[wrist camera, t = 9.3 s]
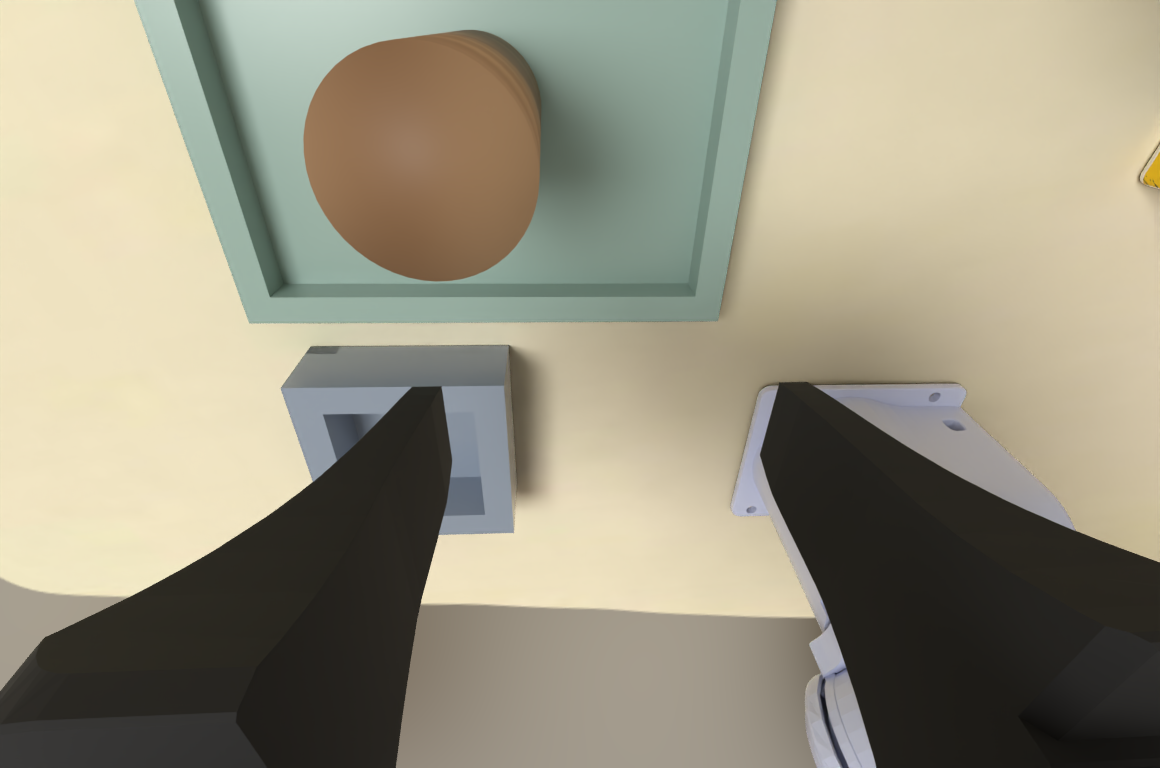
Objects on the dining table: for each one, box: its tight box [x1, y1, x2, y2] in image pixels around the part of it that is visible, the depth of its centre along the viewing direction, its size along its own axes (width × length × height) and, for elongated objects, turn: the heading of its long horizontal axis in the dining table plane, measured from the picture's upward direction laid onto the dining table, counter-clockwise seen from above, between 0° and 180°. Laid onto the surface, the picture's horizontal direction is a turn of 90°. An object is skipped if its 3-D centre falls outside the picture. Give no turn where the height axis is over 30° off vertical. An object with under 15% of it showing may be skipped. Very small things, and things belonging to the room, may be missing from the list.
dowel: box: [303, 30, 541, 282], centre depth 13 cm, size 4×4×9 cm
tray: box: [134, 0, 777, 323], centre depth 17 cm, size 17×14×2 cm
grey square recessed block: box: [281, 345, 517, 535], centre depth 23 cm, size 8×8×3 cm
